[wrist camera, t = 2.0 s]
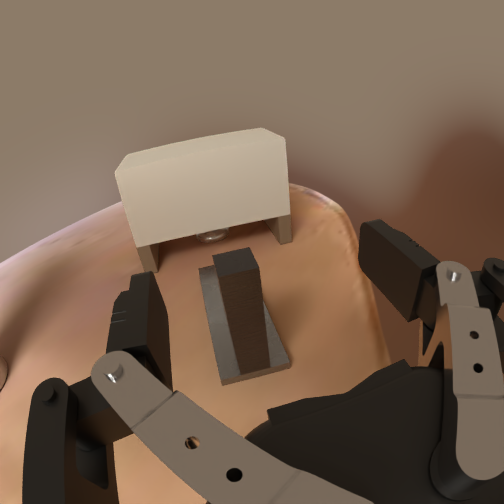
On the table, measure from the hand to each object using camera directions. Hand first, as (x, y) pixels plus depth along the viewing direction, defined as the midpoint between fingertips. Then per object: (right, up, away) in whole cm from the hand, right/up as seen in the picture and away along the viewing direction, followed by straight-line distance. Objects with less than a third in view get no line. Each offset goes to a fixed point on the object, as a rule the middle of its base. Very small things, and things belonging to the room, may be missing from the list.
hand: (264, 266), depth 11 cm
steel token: (-7, +3, +44) cm, 45 cm away
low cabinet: (-7, +2, +42) cm, 42 cm away
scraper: (-2, -7, +26) cm, 27 cm away
